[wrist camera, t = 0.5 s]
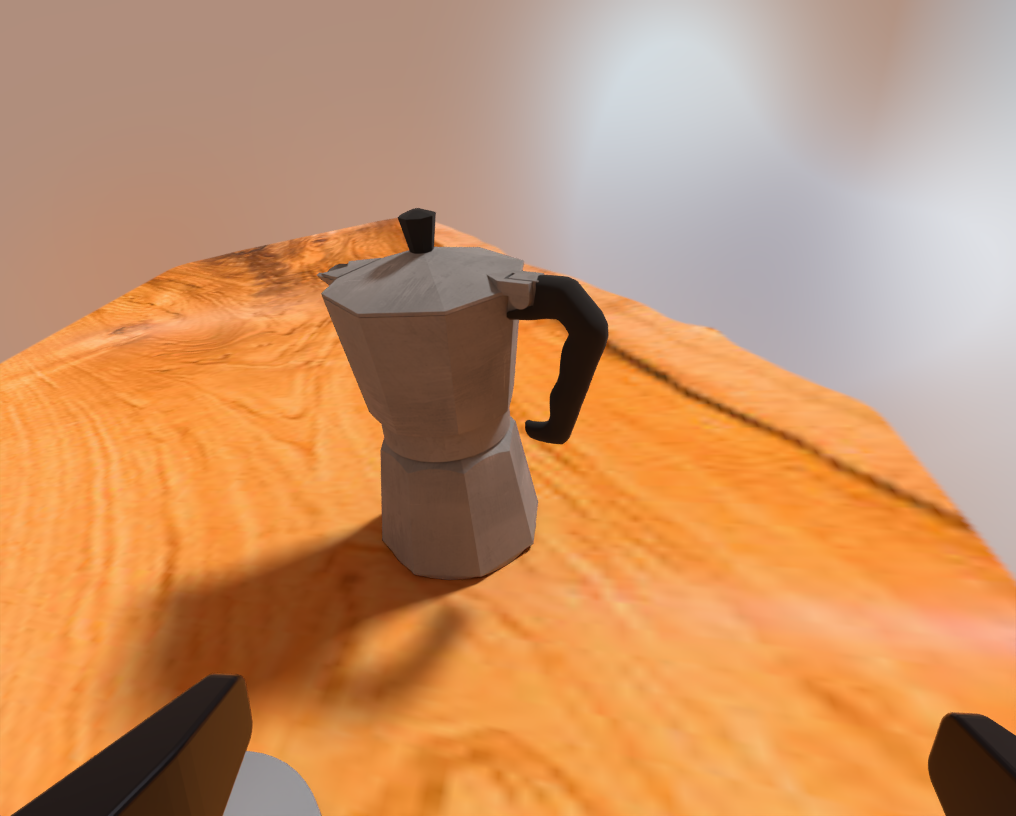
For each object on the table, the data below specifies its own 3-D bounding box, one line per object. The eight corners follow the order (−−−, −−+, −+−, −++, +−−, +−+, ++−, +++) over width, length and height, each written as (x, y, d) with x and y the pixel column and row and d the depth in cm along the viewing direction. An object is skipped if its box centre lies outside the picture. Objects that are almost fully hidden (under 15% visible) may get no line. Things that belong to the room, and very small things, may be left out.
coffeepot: (322, 543, 35) (225, 228, 26) (419, 455, 42) (369, 183, 33) (567, 640, 28) (552, 257, 19) (634, 516, 35) (648, 192, 26)
